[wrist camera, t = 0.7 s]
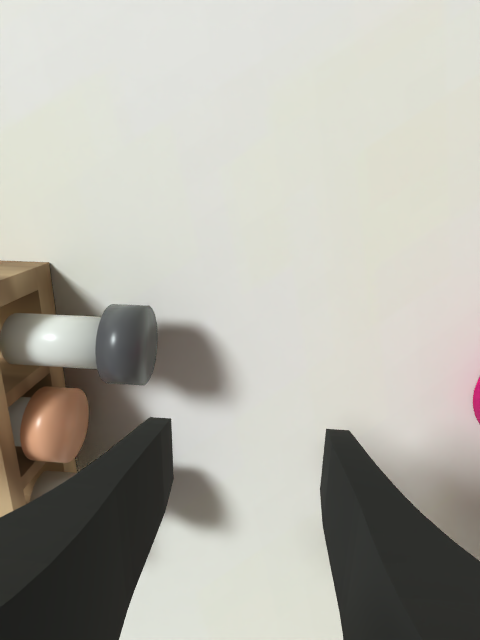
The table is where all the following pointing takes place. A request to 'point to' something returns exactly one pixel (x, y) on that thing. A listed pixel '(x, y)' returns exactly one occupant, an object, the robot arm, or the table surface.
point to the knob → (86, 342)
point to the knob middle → (50, 423)
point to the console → (23, 380)
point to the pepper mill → (477, 400)
